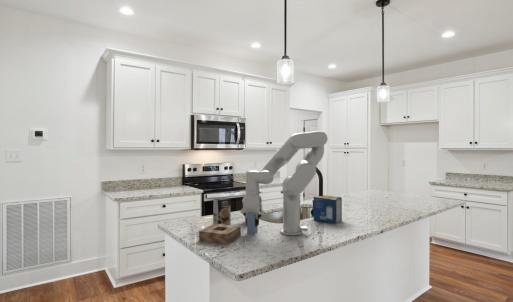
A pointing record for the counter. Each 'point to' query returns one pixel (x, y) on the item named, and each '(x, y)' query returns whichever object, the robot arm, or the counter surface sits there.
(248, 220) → the peg
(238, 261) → the counter surface
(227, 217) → the coffee box
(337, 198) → the protein box
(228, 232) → the socket block
